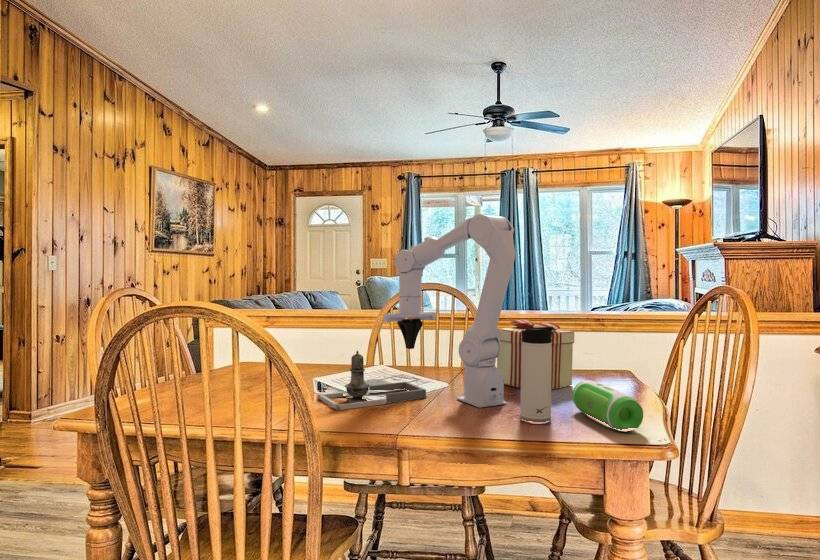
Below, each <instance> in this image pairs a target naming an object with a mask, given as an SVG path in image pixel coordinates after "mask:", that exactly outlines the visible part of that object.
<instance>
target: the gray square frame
mask: <svg viewBox="0 0 820 560" xmlns="http://www.w3.org/2000/svg"><path fill="white" fill-rule="evenodd" d="M342 392H343V391H339V392H337V391H336V392H329V393H322V394H321V393H319V394H318V400H320V401H321V402H323V403H325V404H326V405H327V406H329V407H331V408H333V409H334V410H335V411H342V410H351V409H358V408H364V407H373V406H374V407H375V406H381V405H385V404H386V398H381V399H373V400H369V401H364V402H356V403H349V402H347V403H341V404H339V403H337V402H335V401H334V400H332V399H334V398H344V397H343V393H342Z"/></svg>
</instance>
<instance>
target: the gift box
mask: <svg viewBox="0 0 820 560" xmlns="http://www.w3.org/2000/svg"><path fill="white" fill-rule="evenodd" d="M510 324H512V325H513V326H514V327H503V328H498V330H499V331H500V333H501V337H500V345H501V351H500V354H499V356H498V357H497V358H496V368H497V369H498V370H500V371H501V372H502V374H503V377H504V386H505V385H506V386H508V387H509V386H510V387H513V388H517V389H521V345H522V343H521V341H522V330H525V329H528V328H538V327H550V326H553V327H554V330H552V338H551V339H552V345H551V346H552V370H551V390H557V389H562V387H563V388H568V387H567V386H569V387H571V386H570V385H573V351H574V350H573V348H574V346H573V345H574V344H575V331H573V330H568V329H560V328H561V326H560V325H558V324H556V323H553V322H545V323H544V322H541V323H539V324H535V323H534V322H533V321H530V320H527V319H517V320H512V321H510Z"/></svg>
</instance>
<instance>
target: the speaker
mask: <svg viewBox="0 0 820 560" xmlns="http://www.w3.org/2000/svg"><path fill="white" fill-rule="evenodd" d="M571 399H572V402H573V405H574V406H575V407H576V409H578V410H579V411H580V412H581V413H583V412H584V413H586V414H588V415H590V416H592V417H594V418H596V419H598V420H600V421H602V422H605V423H606V424H608V425H609V426H610V427H612V428H616V429H620V430H622V429H628V428H637V429H638V428H640V427H641V424H642V422H643V420H644V410H643V408H642V407H643V406H641V404H640V403H639V402H638V401H637V400H636V399H635V398H634V397H632V396H630V395H628V394H626V393H625V392H621V391H619V390H617V389H615V388H612V387H610V386H608V385H605V384H603V383H601V382H599V381H595V380H589V379H587V380H584V381H579V383H577V384H576V385H575V386H574V387H573V390H572V393H571ZM584 413H583V414H584ZM586 414H585V415H586Z"/></svg>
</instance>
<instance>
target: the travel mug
mask: <svg viewBox="0 0 820 560" xmlns="http://www.w3.org/2000/svg"><path fill="white" fill-rule="evenodd" d="M552 330H554V327H553V326H550V327H538V328H528V329H525V330H522V341H521V343H522V345H521V388H520V406H519V407H520V408H519V409H520V411H519V412H520V414H519V415H520V417H519V418H521V419H523V420H526V421H533V422H546V421H550V420H551V419H552V415H551V414H552V389H551V370H552V346H551V345H552V339H551V338H552ZM521 419H520V420H521ZM551 421H552V420H551ZM551 421H550V422H551Z"/></svg>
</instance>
